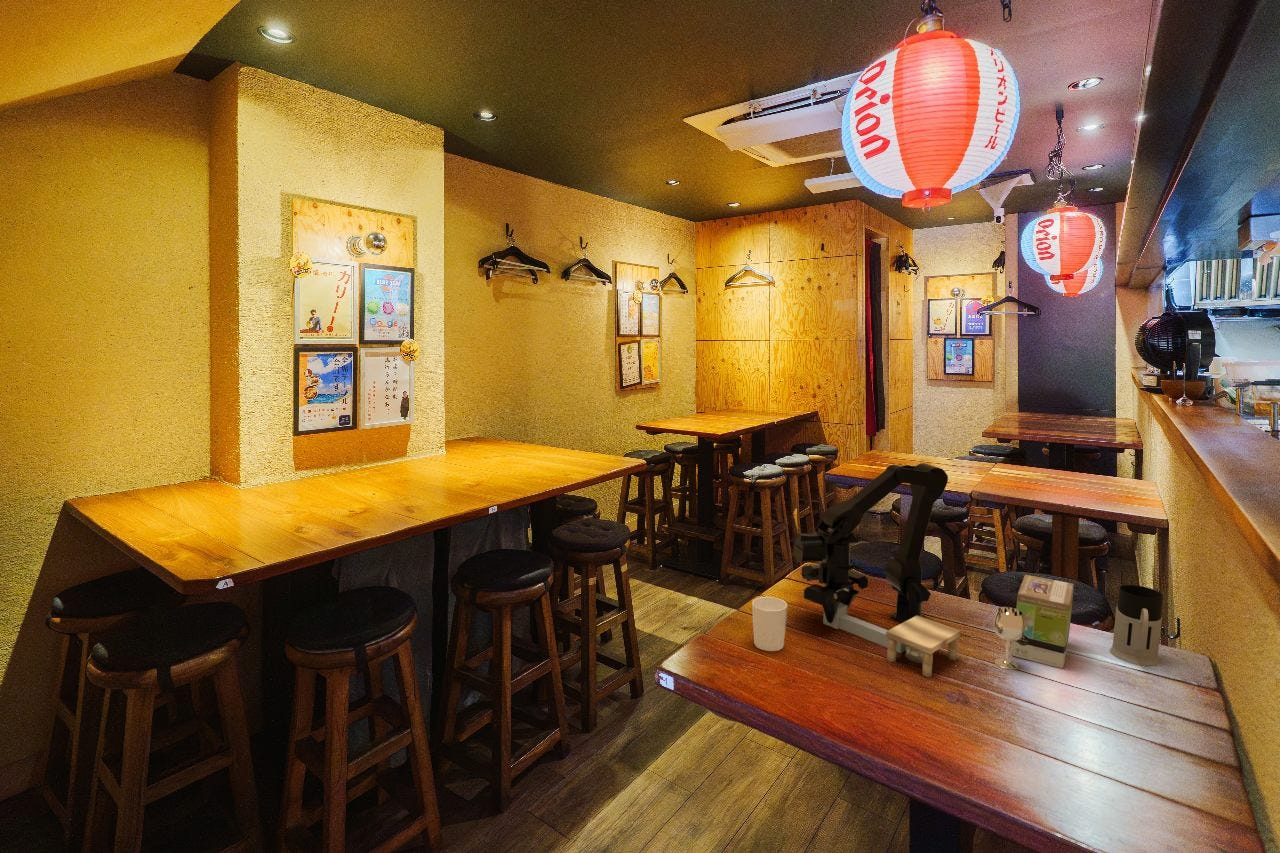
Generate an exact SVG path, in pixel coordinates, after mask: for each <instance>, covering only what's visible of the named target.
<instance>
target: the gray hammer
mask: <svg viewBox="0 0 1280 853" xmlns="http://www.w3.org/2000/svg"><path fill="white" fill-rule="evenodd" d="M822 615H823V620H822V621H823V622H822V624H823V625H825V626H828V627H831V628H833V629H836V630H838V629H840V630H843V631H845V632H847V633H849V634H852V635H855V636H856V637H859V638H862V639H865V640H867V641H870V642H872V643H875V644H876V645H880V646H882V647H884V648H887V649H888V637H886V631H888V629H886V628H883V627H881V626H879V625H875V624H873V623H871V622H868V621H865V620H862V619H859V618H857V617H854V616H852V615H850V614H848V610H847V605H845V604H843V603H840V602H839V605H838V608H837V611H836V614H835V617H834V620H833V622H832V623H829V622H828V621H827V618H826V615H825V612H824V611H823V614H822ZM905 651H906V644H903V643H901V642H898V641H897V648H896V653H899V654H902V653H904V652H905Z"/></svg>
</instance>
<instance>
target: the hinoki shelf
mask: <svg viewBox="0 0 1280 853" xmlns="http://www.w3.org/2000/svg"><path fill="white" fill-rule="evenodd" d="M887 630H888V629H887ZM961 631H962V630H960V629H957V628H954V627H952V626H948V625H945V624H943V623H940V622H937V621H935V620H931V619H930V618H929V619H928V618H927V619H926V618H923V617H920V616H915V617H913V618H911V619H909V620H907V621H905V622H902V623H900V624H897V625H895V626H893V627H892V628H889V630H888V631H886V637H888V648H887V651H886V652H887V653H886V654H887V655H886V659H887V661H888V662H891V663H894V662H897V652H896V648H897V641H898V642H901V643H903V644H906V645H908V646H911V647H913V648H916V649H918V650H921V651H923V663H922V671H921V672H922V673H921V675H922V676H924V677H926V678H931V677H932V675H933V657H934V653H935V652H937V651H938V650H940V649H941V648H944V647H945V646H947V645H948V646H947V659H948V660H950V661H958V660H957V659H958V647H959V646H958V644H959V638H960V637H961V635H962V634H961V633H962V632H961Z"/></svg>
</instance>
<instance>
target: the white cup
mask: <svg viewBox="0 0 1280 853" xmlns="http://www.w3.org/2000/svg"><path fill="white" fill-rule="evenodd" d="M751 605H752V606H751V607H752V608H751V609H752V625H753V626H752V628H753V629H752V630H753V644H754V645H755V647H756V648H757V649H759V650H762V651H766V652H777V651H781V650H782V649H783V648H784V645H785V635H786V629H787V628H786V627H787V617H788V603H787V602H786V601H785V600H783V599H781V598H777V597H773V596H762V597H760V596H759V597H757V598H755V599H753V600H752V603H751Z"/></svg>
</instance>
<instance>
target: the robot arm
mask: <svg viewBox="0 0 1280 853" xmlns="http://www.w3.org/2000/svg"><path fill="white" fill-rule="evenodd" d="M948 481H949V475H948V474H947V473H946V471H945V470H944V469H943V468H940V467H938V466H935V465H931V464H928V463H925V462H924V463H923V462H921V463H918V464H917V465H907V464H905V465H903V464H895V463H892V464H890V465H888V466H887V467H886V468H885V470H884V471H883V472H882V473H880V474H879V475H878V476H877V477H876V478H874V479H873V480H872V481H870V482H869V483H868V484H866V485H865V486H863V487H862V489H861V490H859V491H858V492H857V493H856V494H854V495H853V496H852V497H850V498H849V499H846V500H843V501H840V502H837V503H835V504H833V505H832V506H830V507H829V508H827V509H826V510H825V511H824V512H823V517H822V519H821V520H820V521H819V523H818V524H817V526H816V527H815V528H814V530H813V532H814V533H803V532H802V533H798V534H797V538H796V539H795V541H794V544H793V554H794V557H795V560H796V561H797V562H798V563H813V562H821V563H820V564H814V565H811V564H809V565H807V564H806V565H804V566H802V567H801V570H800V571H801V572H800V573H801V577H802V579H803V580H806V582H811V581H818V583H820V584H822V585H820V584H817V583H814V584H812V585H810V586H806V587H805V588H804V589H803V599H805V600H808V601H809V602H810V601H811V602H813V603H816V604H818V605H820V606H821V607H822V609H823V613H824V612H825V615H826V618H827V621H828V622H829V623H832V622H833V620H834V617H835V614H836V611H837V608H838V605H839V602H840V603H843V604H845V605H847V611H848V610H849V608H850V607H851V605H852V603H853V601H854V600H855V598H856V597H857V595H859V594H860V591H859V590H864V589H867V588H868V587H869V579H868V578H867V576H866V575H864V574H862V573H858V572H855V571H854V570H853V569H854V564H852V563H850V561H851V557H850V556H851V544H855V543H860V539H859V538H857V537H856V536H855V535H854V531H855V529H857V528H858V526H859V525H860V524H861V522H862V519H863V517H864V516H865V514H866V513H868V511H870V510H871V509H872V508H874V507H875V506H876V505H877V504H878V503H880V502H881V501H882V500H883V499H884V498H886V497H887V496H888V495H890V494H891V493H892V492H893V491H894V490H896V489H897V488H898V487H899V486H900V485H901V484H909V487H910V492H911V496H912V497H911V498H912V500H911V502H910V508H909V511H908V515H907V518H906V522H905V527H904V531H903V535H902V539H901V543H900V546H899V550H898V552H897V554H896V555H895V556H894V557H892V556H888V558H887V562H886V566H885V569H884V570H883V572H884V573H885V579H886V580H887V582H888V583H889V584H890V586H891V590H893V591H895V592H897V596H896V597H897V598H896V611H895V612H894V613H892V614H890V618H891V619H893V620H896V621H899V622H902V623H903V622H905V621H907V620H909V619H911V618H913V617H915V616H920V617H923V618H926V619H928V617H927V616H926V615H922V608H923V607H922V606H923V602H928V601H930V600H929V599H930V597H931V592H930V591H929V590H928V589H927V588H926V586H924V585H923V584H922V580H923V579H922V578H923V569H922V565H921V560H920V559H921V554H922V550H923V547H924V542H925V538H926V536H927V530H928V527H929V524H930V520H931V516H932V511H933V507H934V504H935V503H936V502H937V501H938V500H939V499H940V498H941V496H943V494H944V492H945V490H946V487H947V485H948ZM828 530H830V531H831V532H829V531H828ZM852 570H853V571H852ZM823 584H824V586H823ZM855 584H857V587H858V588H859V590H857V589H855V586H854V585H855Z"/></svg>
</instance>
